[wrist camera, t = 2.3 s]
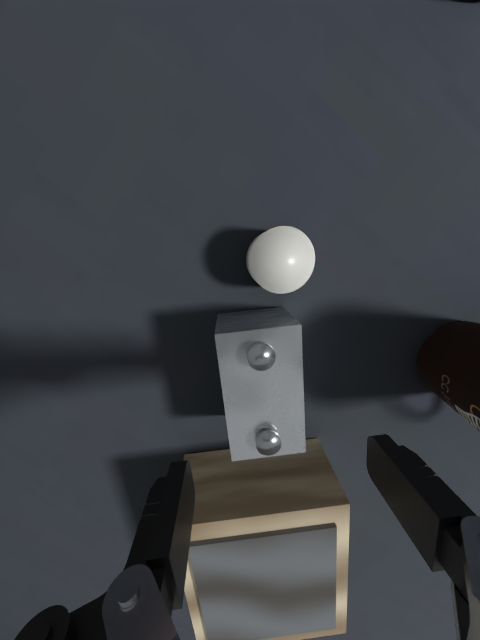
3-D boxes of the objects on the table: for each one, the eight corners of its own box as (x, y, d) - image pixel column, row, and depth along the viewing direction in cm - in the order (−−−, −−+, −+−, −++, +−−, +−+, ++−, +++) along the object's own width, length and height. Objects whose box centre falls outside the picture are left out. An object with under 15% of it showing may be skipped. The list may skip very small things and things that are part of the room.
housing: (217, 313, 19) (213, 338, 13) (282, 306, 19) (304, 327, 13) (230, 413, 21) (231, 469, 16) (287, 406, 21) (308, 459, 16)
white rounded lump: (243, 233, 17) (247, 229, 14) (299, 227, 17) (314, 222, 14) (248, 289, 18) (252, 296, 15) (301, 284, 18) (315, 290, 15)
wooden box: (184, 454, 22) (168, 532, 16) (317, 438, 22) (352, 508, 16) (205, 563, 25) (199, 659, 19) (319, 547, 26) (347, 638, 20)
